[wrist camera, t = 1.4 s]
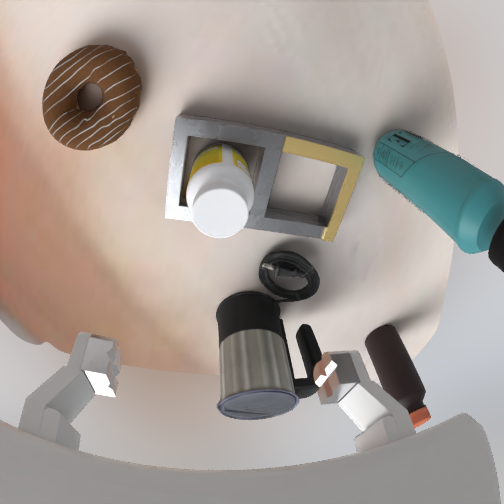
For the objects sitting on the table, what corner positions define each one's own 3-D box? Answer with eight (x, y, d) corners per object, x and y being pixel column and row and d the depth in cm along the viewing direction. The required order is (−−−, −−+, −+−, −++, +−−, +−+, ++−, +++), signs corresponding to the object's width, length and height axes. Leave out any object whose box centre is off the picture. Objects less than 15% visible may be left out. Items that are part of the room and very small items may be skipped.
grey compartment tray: (179, 113, 23) (175, 118, 21) (353, 150, 27) (365, 158, 25) (168, 206, 29) (164, 219, 26) (324, 228, 32) (332, 241, 30)
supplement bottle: (187, 186, 28) (174, 237, 20) (201, 136, 25) (190, 168, 17) (237, 198, 29) (245, 253, 21) (254, 151, 26) (270, 189, 18)
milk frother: (221, 336, 42) (226, 424, 30) (195, 257, 33) (188, 366, 21) (311, 321, 43) (336, 405, 31) (313, 238, 33) (359, 336, 21)
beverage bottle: (380, 187, 30) (493, 309, 14) (353, 144, 27) (494, 257, 10) (418, 157, 28) (543, 255, 12) (396, 112, 24) (550, 193, 8)
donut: (58, 52, 17) (37, 52, 13) (152, 42, 19) (141, 37, 15) (54, 146, 23) (35, 158, 19) (141, 145, 25) (129, 157, 21)
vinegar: (367, 350, 51) (400, 435, 35) (361, 335, 47) (398, 431, 31) (396, 335, 49) (434, 418, 33) (393, 319, 46) (437, 410, 29)
